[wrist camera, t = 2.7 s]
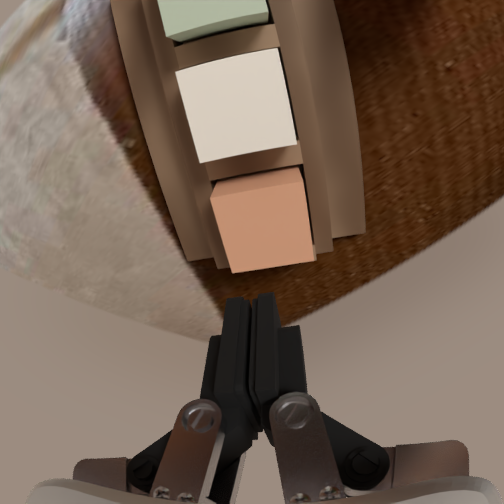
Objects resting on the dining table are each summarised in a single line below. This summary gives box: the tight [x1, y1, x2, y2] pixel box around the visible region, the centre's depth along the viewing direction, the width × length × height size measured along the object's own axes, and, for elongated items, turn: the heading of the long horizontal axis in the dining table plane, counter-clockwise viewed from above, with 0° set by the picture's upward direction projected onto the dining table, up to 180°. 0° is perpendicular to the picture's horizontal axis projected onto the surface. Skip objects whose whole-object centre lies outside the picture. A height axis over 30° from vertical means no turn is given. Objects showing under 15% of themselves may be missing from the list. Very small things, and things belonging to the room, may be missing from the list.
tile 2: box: [175, 48, 297, 163], centre depth 15 cm, size 5×5×3 cm
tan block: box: [210, 165, 314, 273], centre depth 18 cm, size 5×5×3 cm
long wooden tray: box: [110, 0, 366, 269], centre depth 17 cm, size 14×22×4 cm, turn 12°
